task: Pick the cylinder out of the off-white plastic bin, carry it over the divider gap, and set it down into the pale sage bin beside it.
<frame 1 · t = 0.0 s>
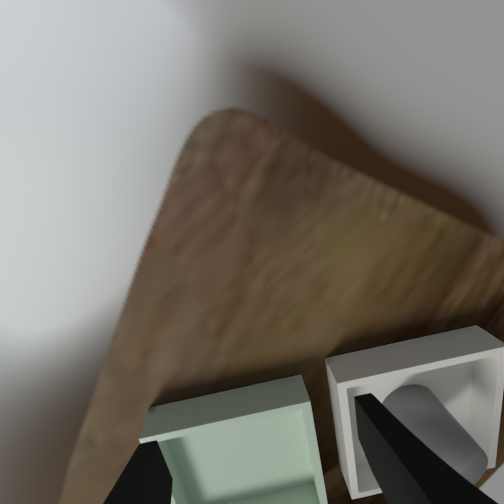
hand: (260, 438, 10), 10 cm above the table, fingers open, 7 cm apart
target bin: (241, 446, 24), on the table
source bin: (403, 401, 24), on the table
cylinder: (407, 407, 23), point 1 cm above the table, touching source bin
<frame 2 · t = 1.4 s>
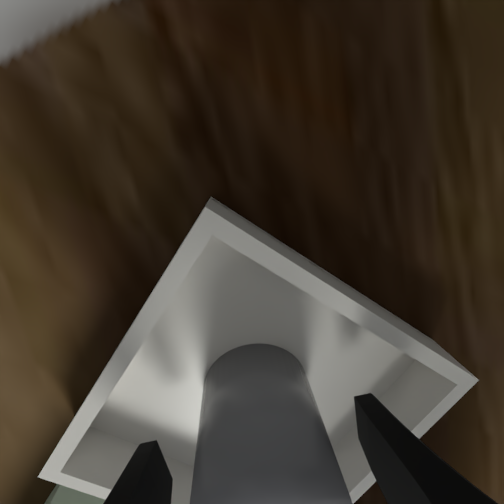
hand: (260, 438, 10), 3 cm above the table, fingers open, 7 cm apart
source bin: (254, 378, 13), on the table
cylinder: (255, 387, 13), point 1 cm above the table, touching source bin
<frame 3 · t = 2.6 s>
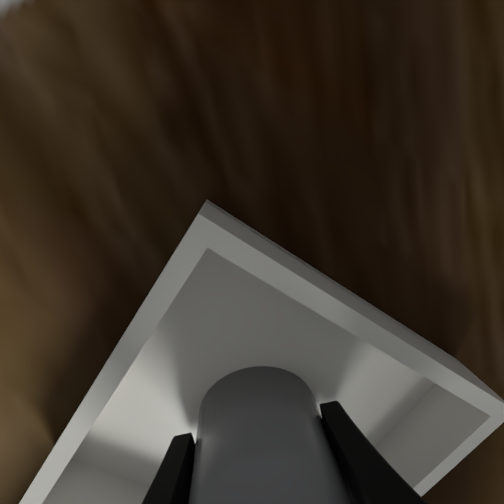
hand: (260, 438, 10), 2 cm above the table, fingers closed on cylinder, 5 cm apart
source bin: (256, 402, 12), on the table
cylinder: (258, 414, 11), point 1 cm above the table, touching gripper, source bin
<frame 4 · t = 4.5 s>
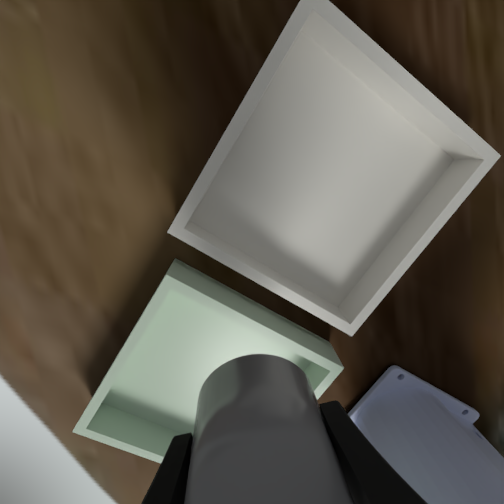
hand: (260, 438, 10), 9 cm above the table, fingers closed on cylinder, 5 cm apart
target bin: (211, 369, 20), on the table
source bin: (319, 188, 16), on the table
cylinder: (256, 402, 11), point 8 cm above the table, touching gripper
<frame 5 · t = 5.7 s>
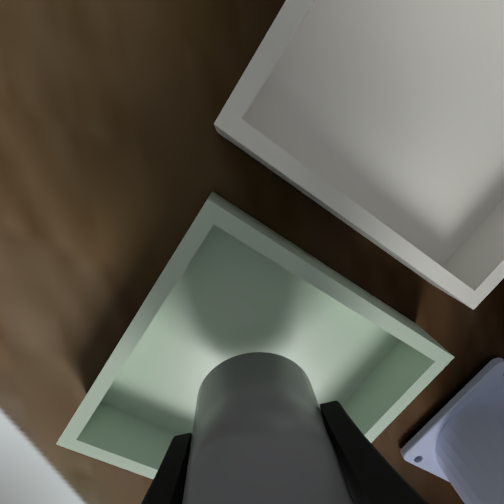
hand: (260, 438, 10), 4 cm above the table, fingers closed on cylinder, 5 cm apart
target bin: (252, 359, 14), on the table
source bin: (430, 88, 11), on the table
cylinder: (255, 401, 11), point 3 cm above the table, touching gripper
when the fingers open (4 cm above the table, at t = 6.7 s): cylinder drops 2 cm, resting on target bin.
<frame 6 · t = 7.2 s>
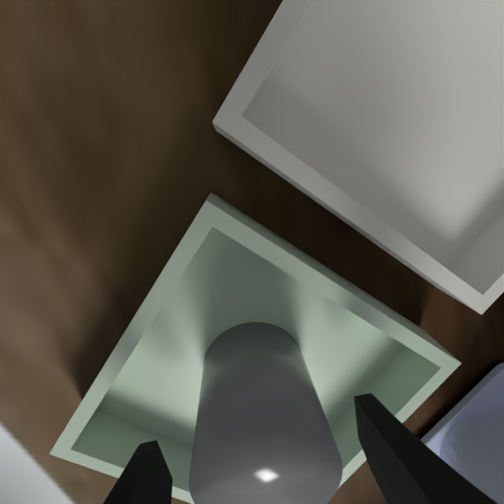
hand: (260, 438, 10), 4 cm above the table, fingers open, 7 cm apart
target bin: (252, 364, 14), on the table
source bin: (436, 85, 11), on the table
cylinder: (253, 365, 13), point 1 cm above the table, touching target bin
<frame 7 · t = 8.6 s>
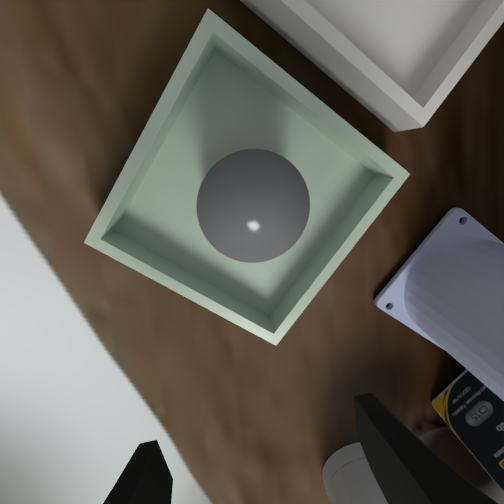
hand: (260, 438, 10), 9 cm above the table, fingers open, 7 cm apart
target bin: (245, 201, 17), on the table
cup: (356, 466, 25), on the table
medicine bottle: (485, 388, 23), on the table
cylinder: (246, 195, 16), point 1 cm above the table, touching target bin
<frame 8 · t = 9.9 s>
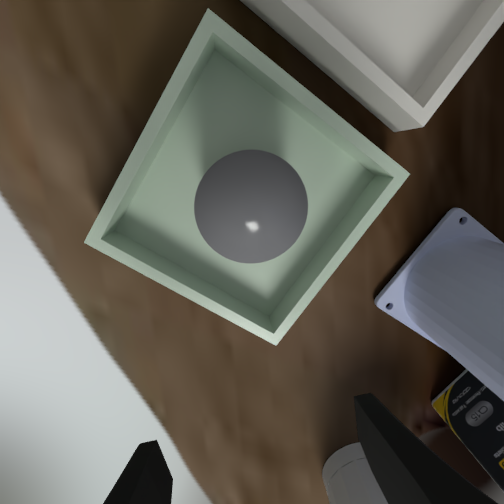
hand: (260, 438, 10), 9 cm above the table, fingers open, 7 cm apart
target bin: (245, 201, 17), on the table
cup: (356, 466, 25), on the table
medicine bottle: (485, 388, 23), on the table
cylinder: (246, 195, 16), point 1 cm above the table, touching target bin
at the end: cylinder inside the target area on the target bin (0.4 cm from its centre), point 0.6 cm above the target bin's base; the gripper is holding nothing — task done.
